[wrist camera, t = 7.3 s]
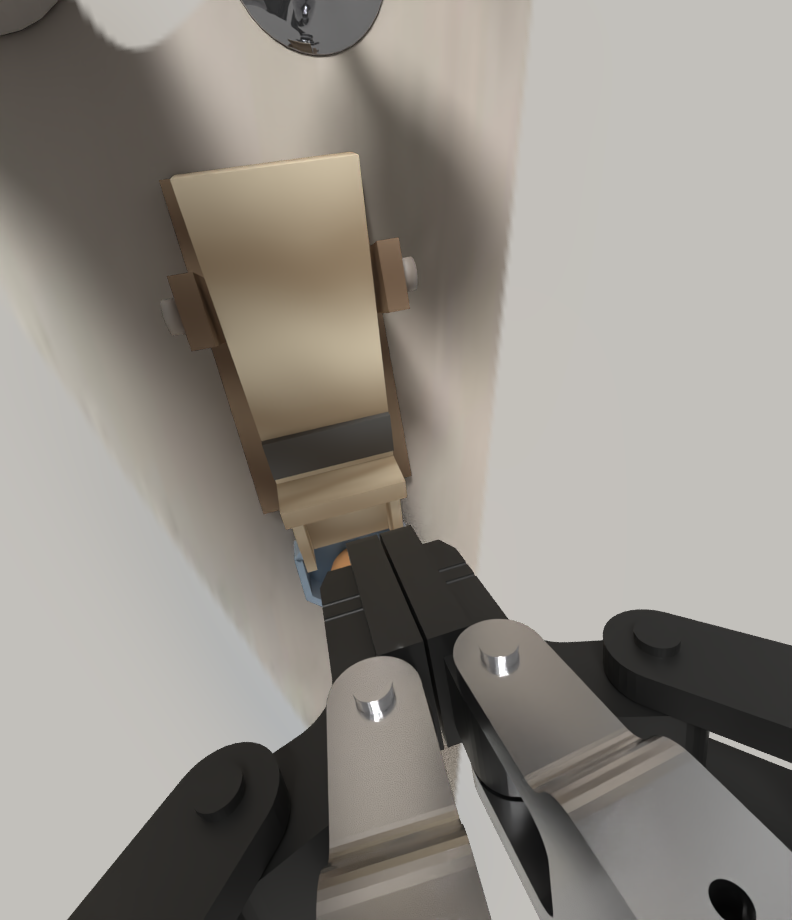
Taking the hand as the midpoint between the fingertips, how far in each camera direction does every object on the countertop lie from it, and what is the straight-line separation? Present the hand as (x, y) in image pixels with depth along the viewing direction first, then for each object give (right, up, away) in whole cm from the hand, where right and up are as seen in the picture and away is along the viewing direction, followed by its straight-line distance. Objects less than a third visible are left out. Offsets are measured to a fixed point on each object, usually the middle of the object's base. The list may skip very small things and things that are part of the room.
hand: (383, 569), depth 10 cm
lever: (-3, +5, +10) cm, 11 cm away
